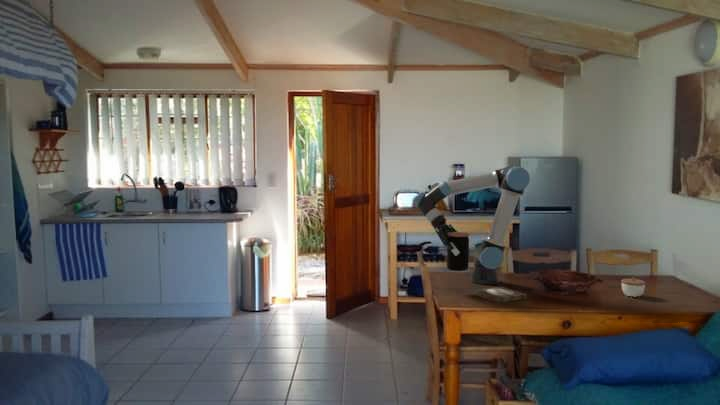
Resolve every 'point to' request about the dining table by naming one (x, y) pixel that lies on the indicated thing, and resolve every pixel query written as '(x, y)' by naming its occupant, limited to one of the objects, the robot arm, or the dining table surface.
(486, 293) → the walnut board
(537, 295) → the dining table surface
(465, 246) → the coffee jar
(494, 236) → the robot arm
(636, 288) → the lidded jar
